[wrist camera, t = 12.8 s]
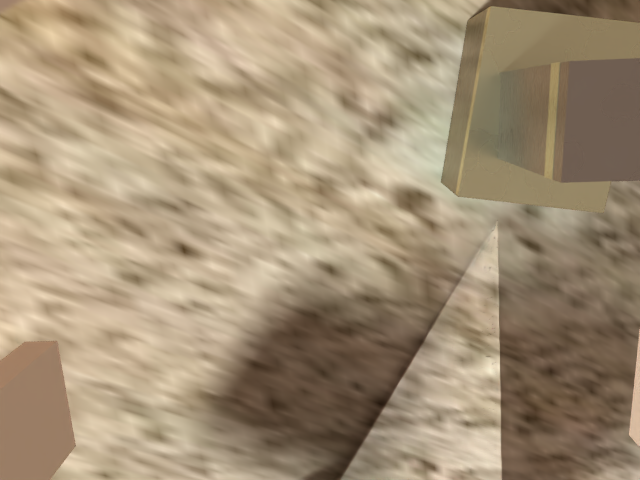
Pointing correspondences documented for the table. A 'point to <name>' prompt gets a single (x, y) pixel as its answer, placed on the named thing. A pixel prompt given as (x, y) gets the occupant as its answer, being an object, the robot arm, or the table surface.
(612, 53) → the grey-green storage box
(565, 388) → the table surface
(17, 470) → the robot arm
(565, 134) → the column
